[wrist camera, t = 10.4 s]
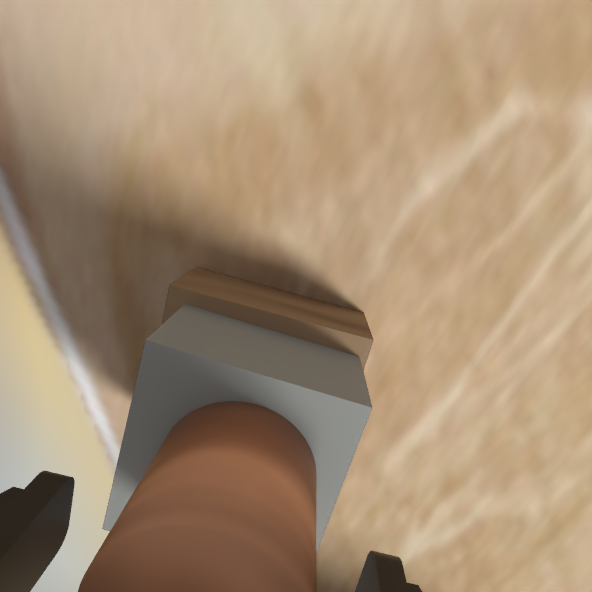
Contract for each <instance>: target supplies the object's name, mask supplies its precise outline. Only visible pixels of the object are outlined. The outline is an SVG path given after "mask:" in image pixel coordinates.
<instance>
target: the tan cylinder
mask: <svg viewBox="0 0 592 592" xmlns="http://www.w3.org/2000/svg"><path fill="white" fill-rule="evenodd" d="M316 493H317V475H316V464H315V460H314V456H313V453H312V451H311V448H310V446H309V444H308V443H307V441H306V439H305V438H304V436H303V435H302V434H301V432H300V431H299V430H298V429H297V428H296V427H295V426H294V425H293V424H292V423H291V422H289V421H288V420H287V419H286V418H284V417H283V416H281V415H280V414H278V413H276V412H274V411H272V410H270V409H268V408H266V407H263V406H260V405H257V404H252V403H247V402H238V401H227V402H218V403H213V404H209V405H206V406H203V407H201V408H198V409H196V410H194V411H192V412H191V413H189V414H187V415H186V416H184V417H183V418H182V419H181V420H180V421H178V422H177V424H176V425H175V426H174V427H173V428H172V429H171V431H170V432H169V434H168V435H167V437H166V438H165V440H164V442H163V443H162V445H161V447H160V448H159V450H158V452H157V454H156V455H155V457H154V459H153V460H152V462H151V464H150V465H149V467H148V469H147V470H146V472H145V474H144V475H143V477H142V479H141V480H140V482H139V484H138V485H137V487H136V489H135V490H134V492H133V494H132V496H131V497H130V499H129V501H128V502H127V504H126V506H125V507H124V509H123V511H122V512H121V514H120V516H119V517H118V519H117V521H116V522H115V524H114V526H113V527H112V529H111V531H110V533H109V534H108V536H107V538H106V539H105V541H104V543H103V545H102V546H101V548H100V549H99V551H98V553H97V554H96V556H95V558H94V560H93V561H92V563H91V564H90V566H89V568H88V570H87V571H86V573H85V575H84V577H83V579H82V581H81V584H80V587H79V590H78V592H316Z"/></svg>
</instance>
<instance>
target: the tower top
mask: <svg viewBox="0 0 592 592" xmlns="http://www.w3.org/2000/svg"><path fill="white" fill-rule="evenodd" d="M227 401H238V402H247V403H252V404H257V405H260V406H263V407H266V408H268V409H270V410H272V411H274V412H276V413H278V414H280V415H281V416H283V417H284V418H286V419H287V420H288V421H289V422H291V423H292V424H293V425H294V426H295V427H296V428H297V429H298V430H299V431H300V432H301V434H302V435H303V436H304V438H305V439H306V441H307V443H308V444H309V446H310V448H311V451H312V453H313V456H314V460H315V464H316V475H317V493H316V552H317V550H318V547H319V544H320V542H321V539H322V537H323V534H324V531H325V529H326V526H327V524H328V521H329V519H330V516H331V513H332V511H333V508H334V506H335V503H336V500H337V498H338V495H339V493H340V490H341V487H342V485H343V482H344V480H345V477H346V475H347V472H348V469H349V467H350V464H351V462H352V459H353V456H354V454H355V451H356V449H357V446H358V443H359V441H360V438H361V436H362V433H363V430H364V428H365V425H366V423H367V420H368V418H369V415H370V412H371V410H372V405H371V401H370V397H369V392H368V388H367V384H366V380H365V376H364V372H363V368H362V364H361V360H360V357H358V356H355V355H352V354H349V353H345V352H342V351H339V350H335V349H332V348H329V347H325V346H322V345H319V344H316V343H312V342H309V341H306V340H302V339H299V338H296V337H292V336H289V335H286V334H283V333H279V332H276V331H273V330H269V329H266V328H263V327H259V326H256V325H253V324H249V323H246V322H243V321H240V320H236V319H233V318H230V317H226V316H223V315H220V314H216V313H213V312H210V311H207V310H203V309H200V308H197V307H193V306H190V305H187V304H184V305H183V306H182V307H181V308H180V309H179V310H178V311H177V312H176V313H174V314H173V315H172V316H171V317H170V318H169V319H168V320H167V321H166V322H165V323H163V324H162V325H161V326H160V327H159V328H158V329H157V330H156V331H155V332H154V333H152V334H151V335H150V336H149V337H148V338H147V339H146V340H145V344H144V349H143V353H142V357H141V362H140V366H139V371H138V375H137V379H136V384H135V388H134V392H133V397H132V401H131V406H130V410H129V414H128V419H127V423H126V428H125V432H124V436H123V441H122V445H121V449H120V454H119V458H118V463H117V467H116V471H115V476H114V480H113V484H112V489H111V493H110V498H109V502H108V507H107V511H106V516H105V520H104V525H103V529H104V530H108V531H111V529H112V527H113V526H114V524H115V522H116V521H117V519H118V517H119V516H120V514H121V512H122V511H123V509H124V507H125V506H126V504H127V502H128V501H129V499H130V497H131V496H132V494H133V492H134V490H135V489H136V487H137V485H138V484H139V482H140V480H141V479H142V477H143V475H144V474H145V472H146V470H147V469H148V467H149V465H150V464H151V462H152V460H153V459H154V457H155V455H156V454H157V452H158V450H159V448H160V447H161V445H162V443H163V442H164V440H165V438H166V437H167V435H168V434H169V432H170V431H171V429H172V428H173V427H174V426H175V425H176V424H177V422H178V421H180V420H181V419H182V418H183V417H184V416H186V415H187V414H189V413H191V412H192V411H194V410H196V409H198V408H201V407H203V406H206V405H209V404H213V403H218V402H227Z"/></svg>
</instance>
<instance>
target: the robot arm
mask: <svg viewBox="0 0 592 592" xmlns="http://www.w3.org/2000/svg"><path fill="white" fill-rule="evenodd" d="M73 491H74V478H73V477H69V476H65V475H60V474H56V473H52V472H48V471H43V472H41V473H40V474H38V475H37V476H36V478H35V479H34V480H33V481H32V482H31V483H30V484H29V485H28V486H27V487H26V488H25V489H20V488H16V487H12V488H10V489H8V490H6V491H5V492H3V493H1V494H0V592H30V591H31V589H32V588H33V587H34V585H35V584H36V582H37V581H38V579H39V578H40V577H41V575H42V574H43V572H44V571H45V570H46V568H47V566H48V565H49V564H50V562H51V561H52V560H53V558H54V557H55V555H56V554H57V552H58V551H59V549H60V547H61V545H62V543H63V541H64V539H65V536H66V534H67V530H68V527H69V520H70V513H71V505H72V498H73ZM355 592H422V591H421V589H420V588H419V586H418V585H414V584H410V583H406V578H405V574H404V569H403V565H402V561H401V559H400V558H399V557H396V556H392V555H388V554H384V553H379V552H375V551H370V552H369V554H368V556H367V559H366V562H365V565H364V568H363V570H362V573H361V576H360V579H359V582H358V585H357V587H356V590H355Z"/></svg>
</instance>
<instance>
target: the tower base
mask: <svg viewBox="0 0 592 592" xmlns="http://www.w3.org/2000/svg"><path fill="white" fill-rule="evenodd" d="M184 304H187V305H190V306H193V307H197V308H200V309H203V310H207V311H210V312H213V313H216V314H220V315H223V316H226V317H230V318H233V319H236V320H240V321H243V322H246V323H249V324H253V325H256V326H259V327H263V328H266V329H269V330H273V331H276V332H279V333H283V334H286V335H289V336H292V337H296V338H299V339H302V340H306V341H309V342H312V343H316V344H319V345H322V346H325V347H329V348H332V349H335V350H339V351H342V352H345V353H349V354H352V355H355V356H358V357H360V360H361V364H362V368H363V370H364V367H365V364H366V361H367V358H368V355H369V352H370V349H371V346H372V343H373V337H372V334H371V332H370V329H369V326H368V323H367V321H366V318H365V315H364V312H360V311H356V310H353V309H349V308H345V307H342V306H338V305H334V304H330V303H327V302H323V301H319V300H316V299H312V298H308V297H304V296H301V295H297V294H293V293H290V292H286V291H282V290H279V289H275V288H271V287H267V286H264V285H260V284H256V283H253V282H249V281H245V280H242V279H238V278H234V277H230V276H227V275H223V274H219V273H216V272H212V271H208V270H205V269H201V268H197V267H195V268H194V269H192V270H191V271H190V272H188V273H187V274H185V275H184V276H182V277H181V278H179V279H178V280H177V281H175V282H174V283H172V284H171V285H170V286H169V291H168V296H167V301H166V306H165V311H164V316H163V321H162V324H163V323H165V322H166V321H167V320H168V319H169V318H170V317H171V316H172V315H173V314H174V313H176V312H177V311H178V310H179V309H180V308H181V307H182V306H183V305H184Z"/></svg>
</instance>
